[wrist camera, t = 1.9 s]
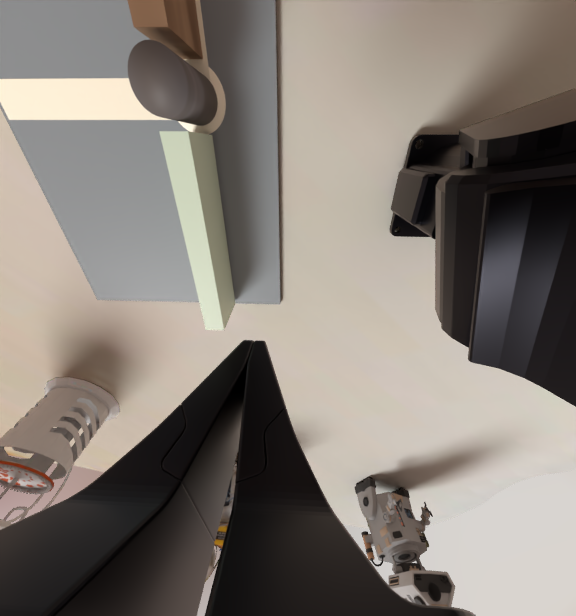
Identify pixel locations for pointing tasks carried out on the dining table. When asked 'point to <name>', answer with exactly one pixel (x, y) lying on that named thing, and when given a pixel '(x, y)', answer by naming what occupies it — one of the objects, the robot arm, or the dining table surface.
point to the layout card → (144, 142)
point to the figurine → (402, 545)
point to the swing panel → (201, 221)
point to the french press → (53, 437)
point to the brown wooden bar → (170, 62)
